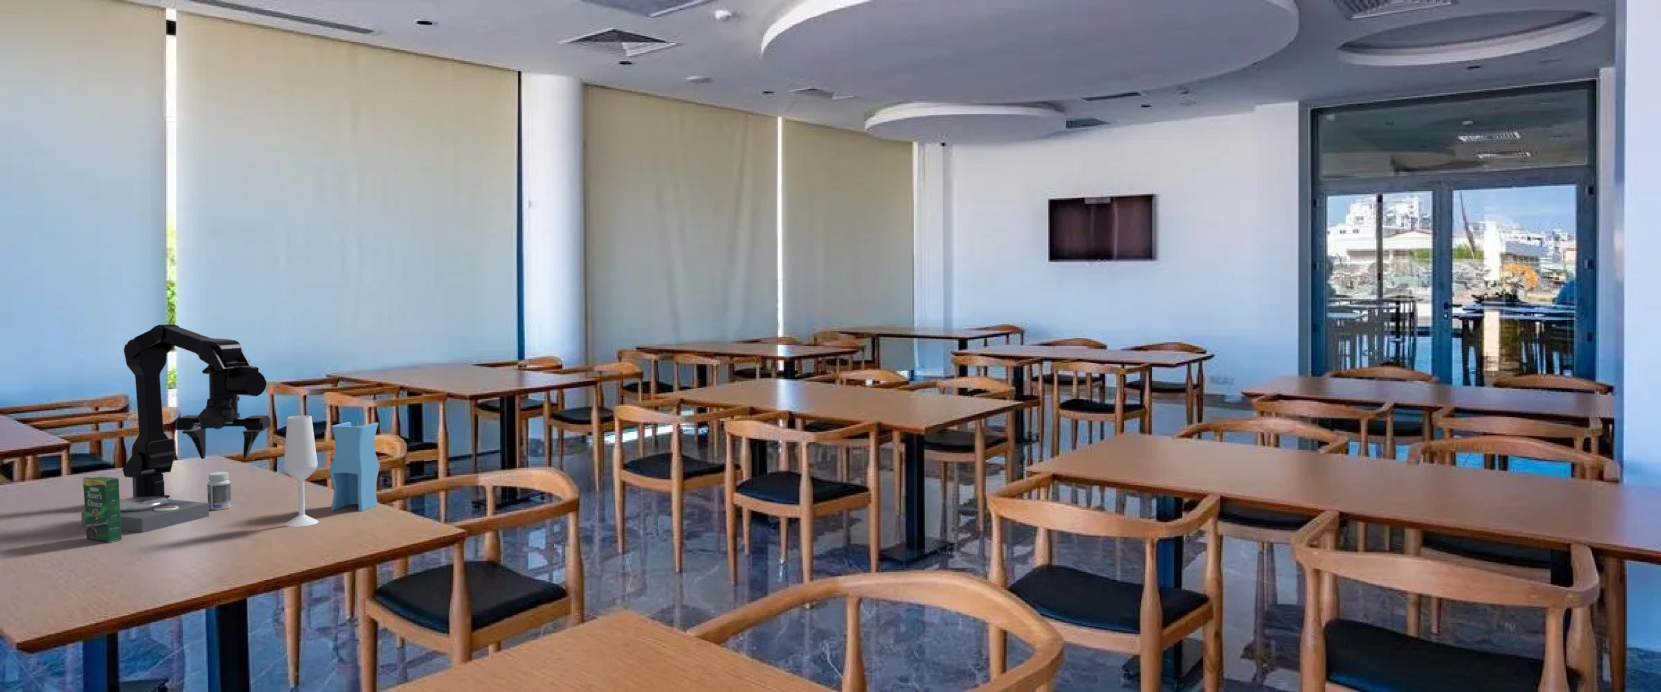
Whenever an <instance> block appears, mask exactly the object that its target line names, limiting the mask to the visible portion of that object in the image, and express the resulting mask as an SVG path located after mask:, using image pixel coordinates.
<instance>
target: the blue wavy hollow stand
mask: <svg viewBox="0 0 1661 692" xmlns="http://www.w3.org/2000/svg"><path fill="white" fill-rule="evenodd" d="M378 426H379V422H372V423H368V424H364V425H358V426H356V425H355V426H354V425H352V422H351V421H345V422H343V423H339V424H334V425H331V429H332V432H333V437H334V445H335V447H334V456H333V458H332V462H331V464H330V468H329V474H330V477H331V481H332V486H333V499H332V504H331V508H330V510H331V511H335V510H338V509H340V508H344V507H346V506H348V505H358V506H357V507H358V512H363V511H366V510H369V509H371V508H373V507H376V506H377V505H379V503H378V499H377V480H378V475H379V472H380V468H381V466H380V465H381V464H380V461H379V460H378V456H377V453H376V448H375V438H376V437H375V436H376V433H377V429H378Z"/></svg>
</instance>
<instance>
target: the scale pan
mask: <svg viewBox="0 0 1661 692" xmlns="http://www.w3.org/2000/svg"><path fill="white" fill-rule="evenodd" d="M167 499H168V498H165V497H137V498H132V497H129V499H127V498H124V499H120V512H131V511H142V510H149V509H154V508H157V507H161V506H165V505H167Z"/></svg>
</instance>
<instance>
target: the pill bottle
mask: <svg viewBox="0 0 1661 692" xmlns="http://www.w3.org/2000/svg"><path fill="white" fill-rule="evenodd" d="M229 477H230V476H229V472H228V471H217V472H215V471H214V472H210V473H208V482H207V484H206V486H207V487H206V489H207V503H209V511H220V510H226V509H230V508H231V507H232V491H231V488H232V487H231V480H229Z"/></svg>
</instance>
